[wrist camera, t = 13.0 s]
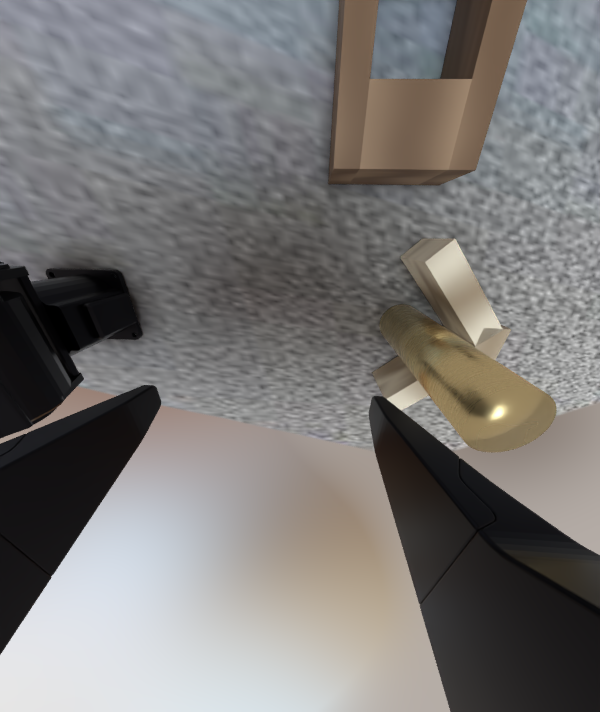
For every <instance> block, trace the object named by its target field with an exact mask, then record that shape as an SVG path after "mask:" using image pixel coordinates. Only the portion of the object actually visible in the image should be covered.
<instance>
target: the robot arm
mask: <svg viewBox="0 0 600 712" xmlns="http://www.w3.org/2000/svg"><path fill="white" fill-rule="evenodd" d="M114 274H115V275H116V278H115V277H114ZM28 275H29V274H28V272H27V270H26V268H25V266H9V265H8V264H4V263H3V262H0V438H3V437H5V436H8V435H10V434H13V433H16V432H19V431H21V430H24V429H27V428H29V427H31V426H32V425H33V424H35V423H37V422H39V421H41V420H43V419H44V418H45V417H47V416H49V415H50V414H51V413H52V412H53V411H54V410H55V409H56V408H57V407H58V406H59V405H61V404H62V402H63V401H64V400H65V399H66V397H67V396H68V395H69V394H70V393H71V392H72V391H73V390H74V389H75V388H76V387H77V386H78V385H79V384H80V383H81V382H82V380H83V379H84V378H83V376H82V374H81V373H79V372H78V370H77V368H76V366H75V364H74V362H73V360H72V359H71V357H70V356H72V355H74V354H76V353H78V352H80V351H82V350H85V349H87V348H89V347H91V346H93V345H95V344H97V343H99V342H101V341H103V340H105V339H134V340H136V339H139V338H141V337H142V332H141V329H140V326H139V323H138V320H137V317H136V314H135V312H134V309H133V306H132V303H131V300H130V297H129V294H128V291H127V288H126V285H125V282H124V279H123V276H122V274H121V273H120V272H119V271H117V270H103V269H57V268H53V269H47V270H46V275H47V277H48V279H47V280H41V281H34V282H31V281H30V280H29V278H28ZM135 333H136V334H137V335H135ZM160 406H161V399H160V396H159V394H158V391H157V388H156V387H155V386H153V385H143V386H141V387H138V388H136V389H133V390H131V391H128V392H126V393H123V394H121V395H119V396H116V397H114V398H111V399H109V400H106V401H104V402H102V403H99V404H97V405H94V406H92V407H89V408H87V409H85V410H82V411H80V412H77V413H75V414H72V415H70V416H67V417H65V418H63V419H60V420H58V421H55V422H53V423H50V424H48V425H45V426H43V427H41V428H38V429H36V430H34V431H31V432H29V433H27V434H23V435H21V436H19V437H16V438H14V439H11V440H9V441H6V442H4V443H1V444H0V654H1V653H2V651H3V650H4V648H5V647H6V645H7V644H8V642H9V641H10V639H11V638H12V636H13V635H14V633H15V632H16V630H17V629H18V627H19V625H20V624H21V623H22V621H23V620H24V618H25V617H26V615H27V614H28V612H29V611H30V609H31V608H32V606H33V605H34V603H35V601H36V600H37V599H38V597H39V596H40V594H41V593H42V591H43V589H44V588H45V587H46V585H47V583H48V582H49V580H50V579H51V576H52V575H53V574H54V573H55V571H56V569H57V568H58V566H59V565H60V564H61V562H62V561H63V559H64V558H65V556H66V555H67V553H68V552H69V550H70V548H71V547H72V545H73V544H74V542H75V541H76V539H77V538H78V536H79V535H80V533H81V532H82V530H83V529H84V527H85V526H86V524H87V523H88V521H89V520H90V518H91V517H92V515H93V514H94V512H95V511H96V509H97V507H98V506H99V505H100V503H101V502H102V500H103V499H104V497H105V496H106V494H107V493H108V491H109V489H110V488H111V487H112V485H113V484H114V482H115V481H116V479H117V478H118V476H119V475H120V473H121V472H122V470H123V468H124V467H125V466H126V464H127V462H128V461H129V460H130V458H131V457H132V455H133V453H134V452H135V451H136V449H137V448H138V446H139V444H140V443H141V441H142V439H143V438H144V436H145V435H146V433H147V431H148V429H149V427H150V425H151V423H152V421H153V420H154V418H155V416H156V414H157V412H158V410H159V408H160ZM369 420H370V426H371V432H372V438H373V444H374V449H375V454H376V457H377V461H378V464H379V468H380V471H381V475H382V478H383V482H384V485H385V488H386V492H387V495H388V499H389V502H390V505H391V509H392V512H393V516H394V519H395V523H396V526H397V529H398V533H399V536H400V539H401V543H402V547H403V550H404V553H405V557H406V560H407V563H408V567H409V570H410V574H411V577H412V581H413V584H414V587H415V591H416V594H417V597H418V601H419V604H420V608H421V611H422V615H423V619H424V622H425V626H426V629H427V633H428V636H429V639H430V643H431V646H432V650H433V653H434V656H435V660H436V663H437V667H438V670H439V673H440V677H441V681H442V684H443V687H444V691H445V694H446V697H447V701H448V705H449V708H450V711H451V712H600V555H598V554H596V553H594V552H593V551H591V550H589V549H587V548H585V547H584V546H582V545H580V544H579V543H577V542H576V541H574V540H573V539H571V538H570V537H568V536H567V535H565V534H564V533H562V532H561V531H559V530H558V529H557V528H555V527H554V526H552V525H551V524H549V523H548V522H547V521H545V520H544V519H543V518H541V517H540V516H538V515H537V514H536V513H534V512H533V511H531V510H530V509H528V508H527V507H526V506H524V505H523V504H521V503H520V502H518V501H517V500H516V499H514V498H513V497H511V496H510V495H509V494H507V493H506V492H505V491H503V490H502V489H500V488H499V487H498V486H496V485H495V484H494V483H492V482H491V481H489V480H488V479H487V478H485V477H484V476H483V475H482V474H480V473H479V472H478V471H476V470H475V469H474V468H472V467H471V466H470V465H469V464H467V463H466V462H465V461H464V460H462V459H459V456H457V455H456V454H455V453H454V452H452V451H451V450H450V449H449V448H447V447H446V446H445V445H444V444H442V443H441V442H440V441H439V440H437V439H436V438H435V437H434V436H432V435H431V434H430V433H429V432H427V431H426V430H425V429H424V428H422V427H421V426H420V425H419V424H417V423H416V422H415V421H414V420H412V419H411V418H410V417H409V416H407V415H406V414H405V413H404V412H402V411H401V410H400V409H399V408H397V407H396V406H395V405H394V404H392V403H391V402H390V401H388V400H387V399H386V398H385V397H383V396H374V397H373V398H372V400H371V405H370V410H369Z"/></svg>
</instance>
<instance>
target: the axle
mask: <svg viewBox="0 0 600 712" xmlns="http://www.w3.org/2000/svg"><path fill="white" fill-rule="evenodd" d="M380 331H381V333H382V335H383V336H384V337H385V339H386V340H387V341H388V343H389V344H390V345H391V346H392V348H393V349H394V350H395V352H396V353H397V354H398V356H399V357H400V358H401V360H402V361H403V362H404V363H405V365H406V366H407V367H408V369H409V370H410V371H411V373H412V374H413V375H414V376H415V378H416V379H417V380H418V382H419V383H420V384H421V386H422V387H423V388H424V389H425V391H426V392H427V393H428V395H429V396H430V397H431V399H432V400H433V401H434V403H435V404H436V405H437V406H438V408H439V409H440V410H441V412H442V413H443V414H444V416H445V417H446V418H447V419H448V421H449V422H450V423H451V425H452V426H453V427H454V429H455V430H456V431H457V432H458V434H459V435H460V436H461V438H462V439H463V440H464V442H465V443H466V444H467V445H468V446H470V447H471V448H473V449H476V450H478V451H483V452H503V451H509V450H512V449H516V448H519V447H521V446H524V445H526V444H528V443H530V442H532V441H533V440H535V439H536V438H538V437H539V436H541V435H542V434H543V433H544V432H545V431H546V430H547V429H548V428H549V427H550V425H551V424H552V422H553V420H554V418H555V416H556V404H555V402H554V400H553V399H552V398H551V397H550V396H549V395H548V394H546V393H545V392H543V391H542V390H540V389H539V388H537V387H535V386H534V385H532V384H531V383H529V382H528V381H526V380H525V379H523V378H522V377H520V376H518V375H517V374H515V373H514V372H512V371H511V370H509V369H508V368H506V367H505V366H503V365H501V364H500V363H498V362H497V361H495V360H494V359H492V358H491V357H489V356H488V355H486V354H484V353H483V352H481V351H480V350H478V349H477V348H475V347H474V346H472V345H471V344H469V343H467V342H466V341H464V340H463V339H461V338H460V337H458V336H457V335H455V334H454V333H452V332H450V331H449V330H447V329H446V328H444V327H443V326H441V325H440V324H438V323H436V322H435V321H433V320H432V319H430V318H429V317H427V316H426V315H424V314H423V313H421V312H419V311H418V310H416V309H415V308H413V307H412V306H410V305H406V304H400V305H396V306H393V307H391V308H390V309H388V310H387V311H386V312H385V313H384V314H383V316H382V318H381V320H380Z"/></svg>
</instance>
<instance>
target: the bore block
mask: <svg viewBox="0 0 600 712" xmlns="http://www.w3.org/2000/svg"><path fill="white" fill-rule="evenodd" d="M378 1H379V0H339V15H338V31H337V47H336V64H335V80H334V97H333V113H332V130H331V146H330V163H329V179H328V184H374V185H441V184H443V183H446V182H448V181H450V180H453V179H455V178H458V177H460V176H462V175H465V174H467V173H470V172H472V171H475V170H476V167H477V164H478V160H479V157H480V154H481V150H482V147H483V144H484V141H485V137H486V134H487V131H488V127H489V124H490V121H491V117H492V114H493V111H494V108H495V104H496V101H497V98H498V94H499V91H500V88H501V85H502V81H503V78H504V75H505V71H506V68H507V65H508V61H509V58H510V55H511V52H512V48H513V45H514V42H515V38H516V35H517V32H518V28H519V25H520V22H521V19H522V15H523V12H524V9H525V5H526V2H527V0H457V4H456V9H455V13H454V18H453V23H452V27H451V32H450V37H449V41H448V46H447V51H446V56H445V60H444V65H443V70H442V74H441V79H370V73H371V64H372V55H373V46H374V37H375V28H376V19H377V10H378Z"/></svg>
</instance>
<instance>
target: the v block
mask: <svg viewBox="0 0 600 712" xmlns="http://www.w3.org/2000/svg"><path fill="white" fill-rule="evenodd" d="M400 258H401V260H402V261H403V263H404V264H405V266H406V267H407V269H408V270H409V272H410V274H411V275H412V277H413V278H414V280H415V281H416V283H417V284H418V286H419V288H420V289H421V291H422V292H423V294H424V295H425V297H426V298H427V300H428V302H429V303H430V305H431V306H432V308H433V309H434V311H435V312H436V314H437V316H438V317H439V319H440V320H441V322H442V323H443V325H444V326H443V327H444V328H446V329H447V330H449V331H450V332H452V333H454V334H455V335H457V336H458V337H460V338H461V339H463V340H464V341H466V342H467V343H469V344H471V345H472V346H474V347H475V348H477V349H478V350H480V351H481V352H483V353H484V354H486V355H488V356H489V357H491V358H492V359H494V360H495V359H496V357H497V355H498V353H499V352H500V350H501V348H502V346H503V344H504V342H505V340H506V338H507V337H508V335H509V333H510V331H511V329H509V328H507V327H505V326H502V325H500V323H499V321H498V319H497V317H496V315H495V313H494V311H493V310H492V308H491V306H490V304H489V302H488V300H487V298H486V296H485V294H484V292H483V291H482V289H481V287H480V285H479V283H478V281H477V279H476V277H475V275H474V273H473V271H472V270H471V268H470V266H469V264H468V262H467V260H466V258H465V256H464V254H463V252H462V251H461V249H460V247H459V245H458V243H457V241H456V239H421V240H420V241H419V242H418V243H416V244H415V245H414V246H413V247H412V248H410V249H409V250H408V251H407V252H405V253H404V254H403V255H402V256H401V257H400ZM372 374H373V376H374V378H375V380H376V382H377V384H378V386H379V389H380V391H381V393H382V395H383V397H385V398H386V399H387V400H388V401H390V402H391V403H392V404H394V405H395V406H396V407H397V408H399V409H400V410H403V409H405V408H407V407H408V406H410V405H412V404H414V403H416V402H417V401H419V400H421V399H423V398H425V397H427V396H428V393H427V392H426V391H425V389H424V388H423V387H422V386H421V384H420V383H419V382H418V380H417V379H416V378H415V376H414V375H413V374H412V373H411V371H410V370H409V369H408V367H407V366H406V365H405V363H404V362H403V361H402V360H401V358H400V357H399V356H397V357H396V358H394V359H393V360H391V361H389V362H388V363H386V364H385V365H383V366H382V367H380V368H379V369H377V370H376V371H374V372H373V373H372Z"/></svg>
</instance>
